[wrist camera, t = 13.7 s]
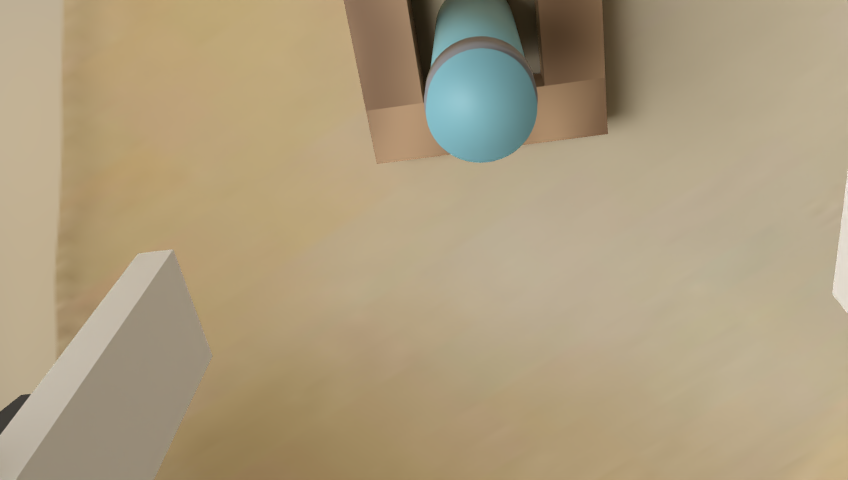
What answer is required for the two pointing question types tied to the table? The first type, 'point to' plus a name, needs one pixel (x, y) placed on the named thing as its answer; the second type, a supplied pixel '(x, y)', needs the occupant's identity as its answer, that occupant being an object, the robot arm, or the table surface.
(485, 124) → the banded teal cylinder
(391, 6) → the square hole plate
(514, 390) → the table surface
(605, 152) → the table surface
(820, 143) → the table surface
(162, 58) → the table surface
